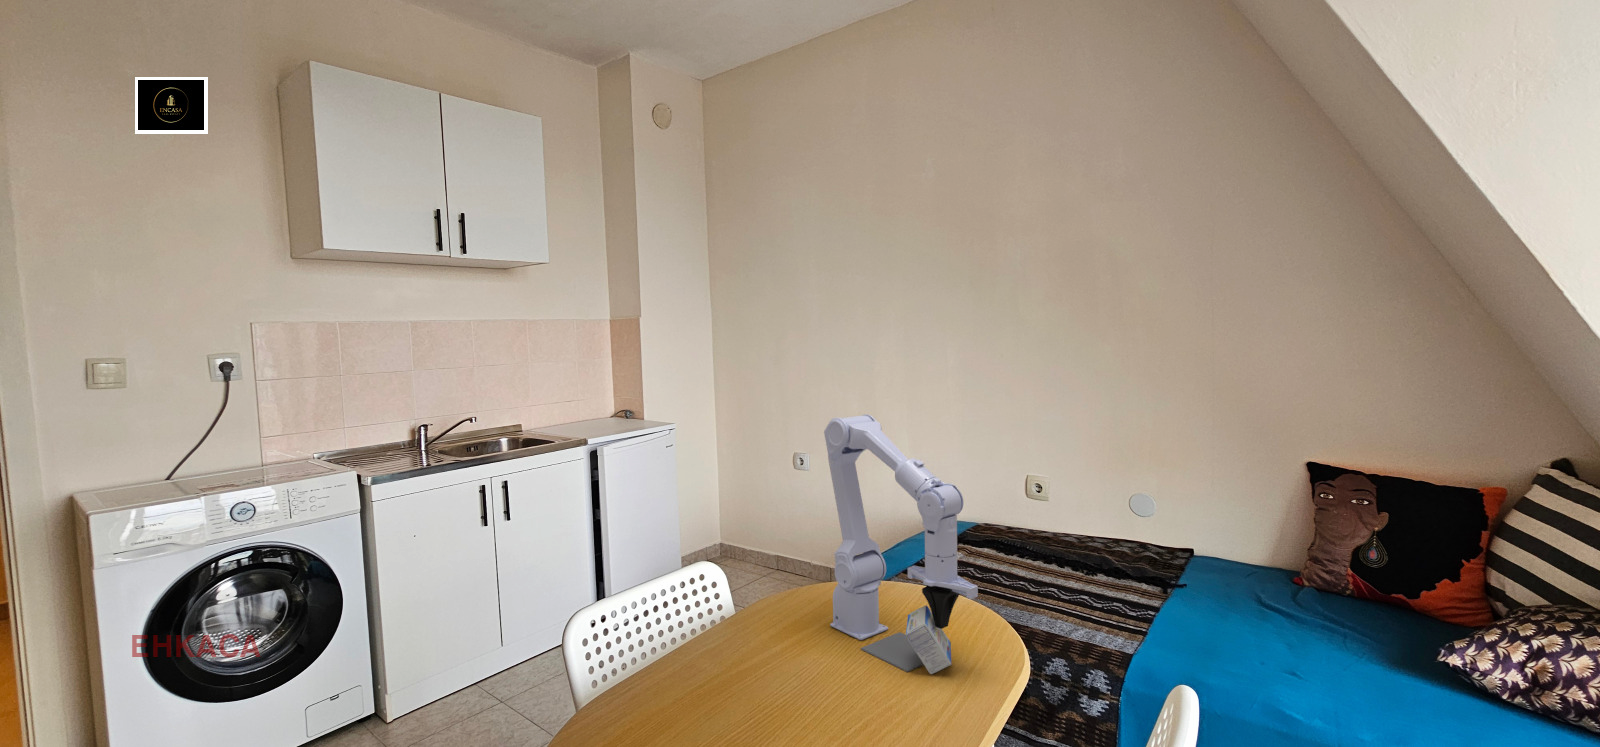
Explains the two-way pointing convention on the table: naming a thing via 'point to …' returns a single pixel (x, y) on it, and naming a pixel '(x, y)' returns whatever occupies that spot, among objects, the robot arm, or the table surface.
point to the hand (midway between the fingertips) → (941, 626)
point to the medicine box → (928, 640)
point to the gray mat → (895, 652)
